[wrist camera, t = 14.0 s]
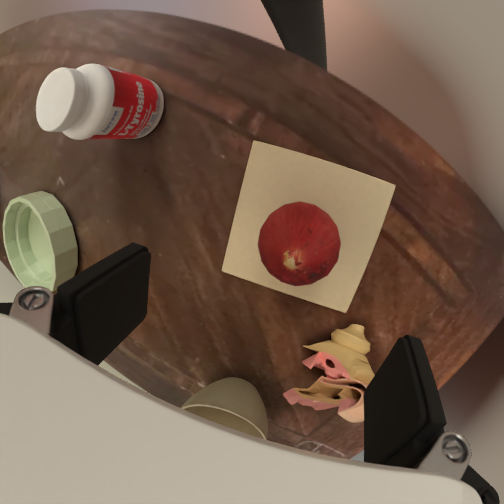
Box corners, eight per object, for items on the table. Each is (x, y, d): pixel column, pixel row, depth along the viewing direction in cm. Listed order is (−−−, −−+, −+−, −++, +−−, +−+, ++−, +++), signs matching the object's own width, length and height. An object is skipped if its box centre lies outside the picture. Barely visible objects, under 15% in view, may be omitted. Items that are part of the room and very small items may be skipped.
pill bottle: (154, 146, 26) (66, 151, 15) (109, 130, 26) (24, 134, 16) (175, 84, 23) (92, 58, 13) (127, 74, 24) (44, 56, 14)
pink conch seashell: (306, 301, 27) (389, 329, 19) (360, 332, 32) (429, 356, 24) (261, 387, 26) (330, 441, 18) (324, 402, 31) (386, 439, 22)
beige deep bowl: (184, 381, 34) (159, 420, 28) (234, 346, 30) (210, 391, 24) (241, 426, 35) (225, 467, 28) (297, 399, 31) (287, 448, 24)
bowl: (25, 183, 32) (1, 188, 28) (81, 203, 30) (54, 211, 26) (28, 265, 37) (7, 275, 33) (81, 298, 35) (59, 313, 31)
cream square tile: (254, 140, 23) (253, 140, 23) (394, 185, 22) (396, 185, 21) (223, 269, 28) (221, 271, 27) (345, 310, 26) (346, 313, 26)
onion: (352, 241, 23) (361, 281, 16) (294, 276, 26) (279, 324, 18) (313, 182, 23) (305, 194, 15) (256, 220, 25) (224, 249, 18)
